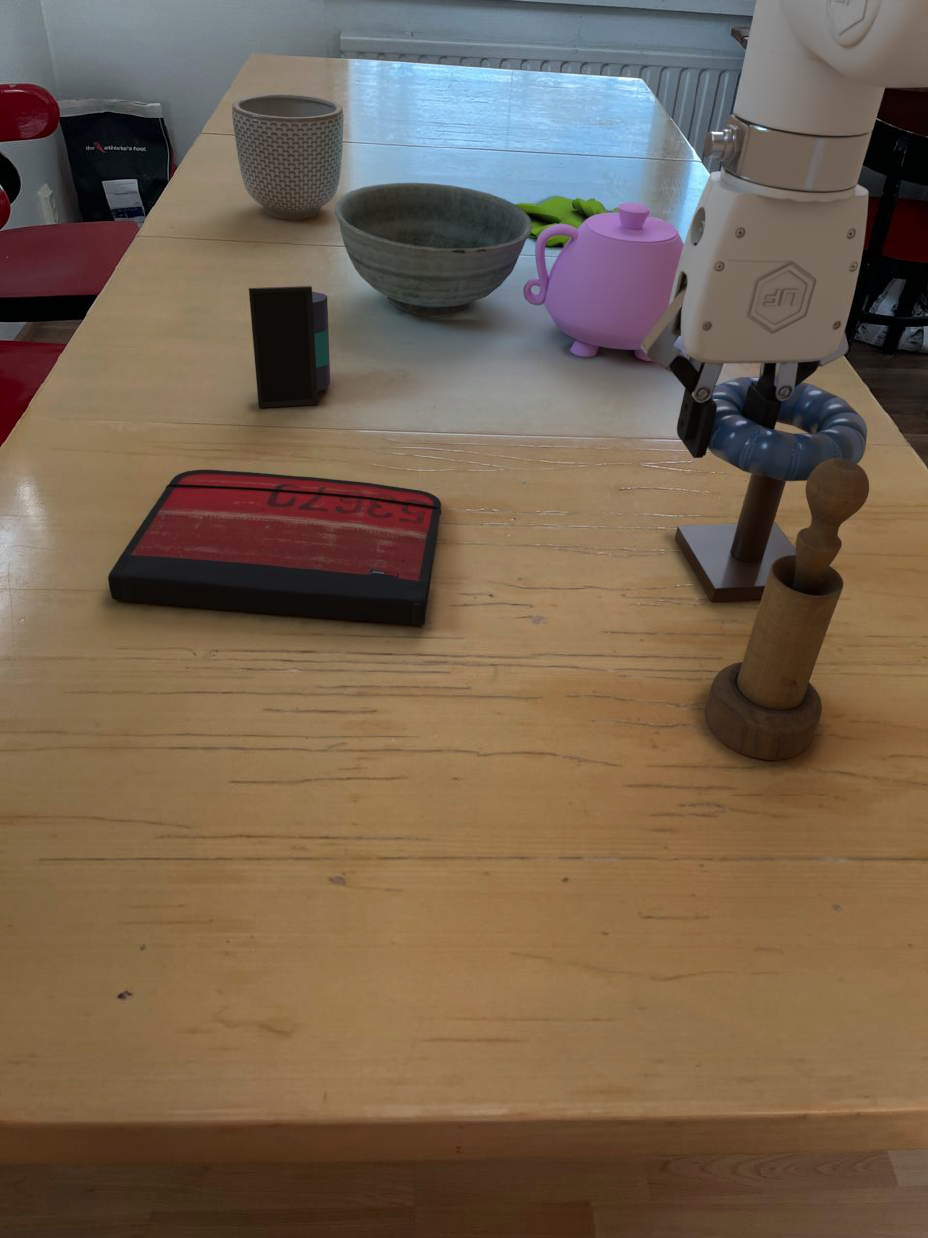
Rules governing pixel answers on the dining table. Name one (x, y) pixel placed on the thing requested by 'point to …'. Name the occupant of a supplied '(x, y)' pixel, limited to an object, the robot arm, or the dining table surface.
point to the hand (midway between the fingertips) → (721, 444)
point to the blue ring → (780, 452)
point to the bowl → (431, 243)
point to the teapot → (608, 278)
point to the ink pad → (284, 547)
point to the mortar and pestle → (789, 630)
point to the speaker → (290, 345)
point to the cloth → (561, 215)
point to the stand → (739, 545)
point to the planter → (289, 151)
